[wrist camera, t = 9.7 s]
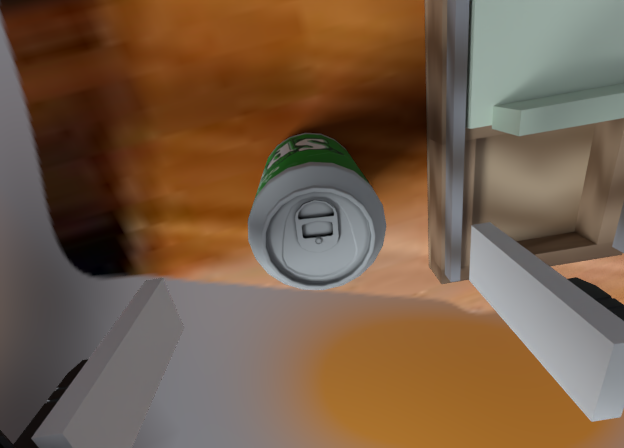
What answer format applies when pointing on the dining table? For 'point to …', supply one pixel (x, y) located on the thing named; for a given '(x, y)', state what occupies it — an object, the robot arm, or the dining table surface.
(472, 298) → the dining table surface
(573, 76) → the lid
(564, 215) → the wooden tray box
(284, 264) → the soda can
